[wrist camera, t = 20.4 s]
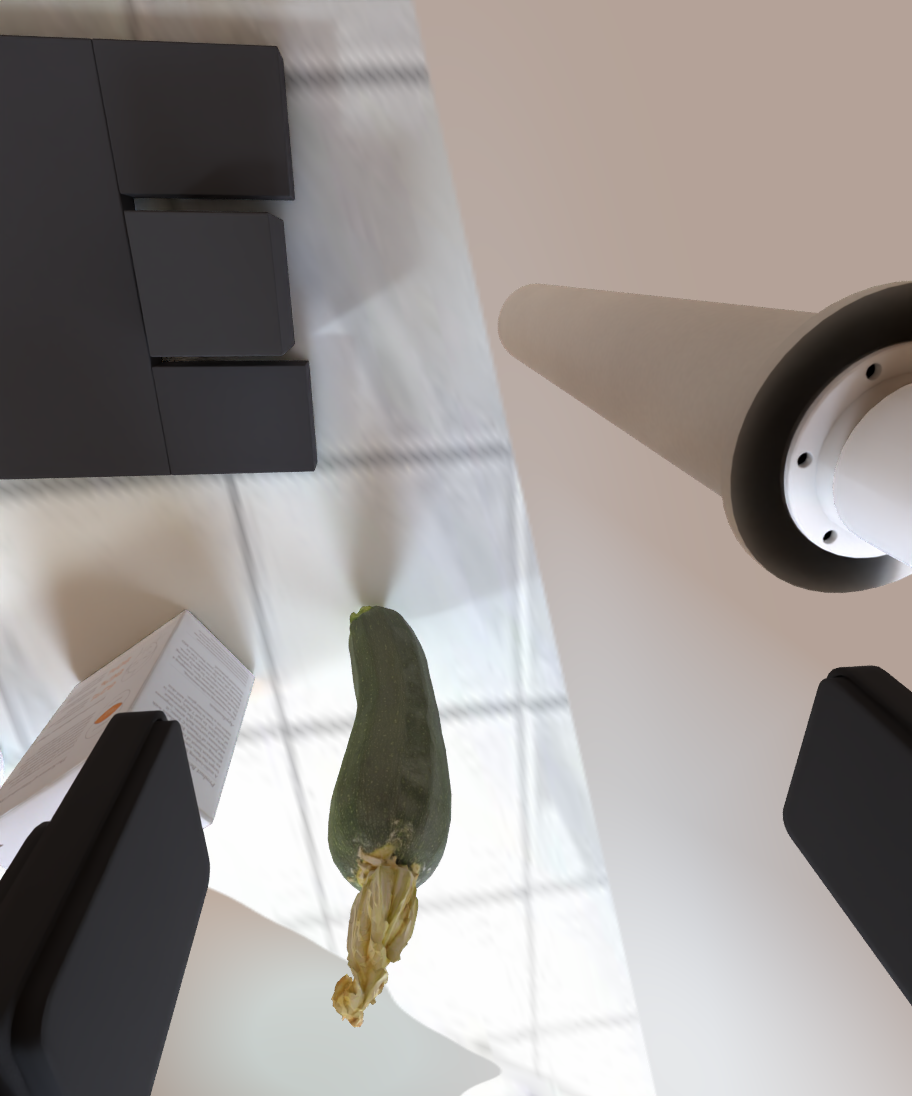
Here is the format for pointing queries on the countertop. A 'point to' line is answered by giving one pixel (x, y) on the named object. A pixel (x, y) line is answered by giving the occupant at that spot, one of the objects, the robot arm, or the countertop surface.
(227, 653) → the small box
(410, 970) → the countertop surface
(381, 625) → the vegetable
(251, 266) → the pad piece
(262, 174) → the base pad
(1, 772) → the fruit juice
